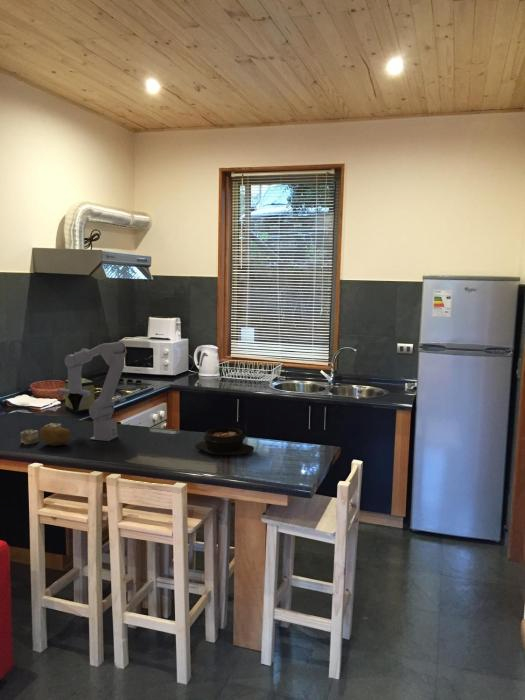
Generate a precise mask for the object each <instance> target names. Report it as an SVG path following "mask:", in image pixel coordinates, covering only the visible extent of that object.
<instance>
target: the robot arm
mask: <svg viewBox="0 0 525 700" xmlns="http://www.w3.org/2000/svg"><path fill="white" fill-rule="evenodd" d="M127 353H128V350H127V348H126V345H125V343H124V342H122V341H120V340H119V341H116V342H107V343H101V344H98V345H97V346H95V347H93V348H91V349H88V348H85V347H83V348H81V349H80V351H74V354H67V355H66V356H65V357H64V364H65V366H66V368H67V378H68V379H67V380H68V387H69V389H65V388H62V389H59V394H61V395H65V394H69V396H68V399H69V400H70V402H71V404H72V407H73V410H74V411H77V410H79V405H80V402H81V399H82V397H83V395H87V396H89V395H91V391H88V390H82V379H81V378H82V371H83V365H85V364H86V363H89V362H91V361H92V360H93V357H94V358H95V357H96V356H101V357H102V359H103V360H104V362H105V363H106V365H108V366H109V368H108V371H107V374H106V376H105V379H104V382H103V386H102V388H101V390H100V393H99V396H98V397H97V398H96V399H94V400H95V401H94V402H93V404H92V406H90V408H89V411H88V413H89V417H90V418H91V419H92V421H93V436H92V437H89V440H94V441H104V442H105V441H107V442H109V441H112V440H114V439H115V438H118V437H119V435H118V427H117V426H118V425H117V420H116V419H114V418H112V415H113V414H114V412H115V405H116V404H115V401H114V400H113V398H114V396H115V392H116V389H117V387H118V384H119V382H120V380H121V376H122V373H123V371H124V369H125V358H126V354H127Z"/></svg>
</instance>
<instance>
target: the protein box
mask: <svg viewBox="0 0 525 700" xmlns="http://www.w3.org/2000/svg"><path fill="white" fill-rule="evenodd" d="M81 379H82V390H88V391H91V395H89V396H87V395H83V397H82V399H81V402H80V405H79V410H77V411H74V410H73V407H72V404H71V402H70V400H69V399H68V396H69V394H64V399H65V400H64V401H65V409H67V410H68V411H71V412H73V413H74V414H81V413H86V412H88V413H89V408H90V406H92V404H93V402H94V401H95V400H96V399H95V381H92V380H89V379H87V378H84V377H81ZM64 389H69V387H68V379H64Z"/></svg>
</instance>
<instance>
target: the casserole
mask: <svg viewBox="0 0 525 700" xmlns="http://www.w3.org/2000/svg"><path fill="white" fill-rule="evenodd" d="M243 432H244V431H243V430H242V429H239V428H236V427H229V426H228V427H227V426H226V427H215V428H211V429H208V430H207V431H205V434H204V436H203V439H204V440H203V441H200V442H198V443H196V444H195V445H194V448H195V449H197V450H200V451H203V452H205V453H208V454H211V455H215V456H223V457H225V456H232V455H236V456H242V455H247V454H249V453H251V452H254V450H255V446H252V445H251V444H247V443H245V442H244V440H245V439H246V436H245V434H244V433H243Z"/></svg>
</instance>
